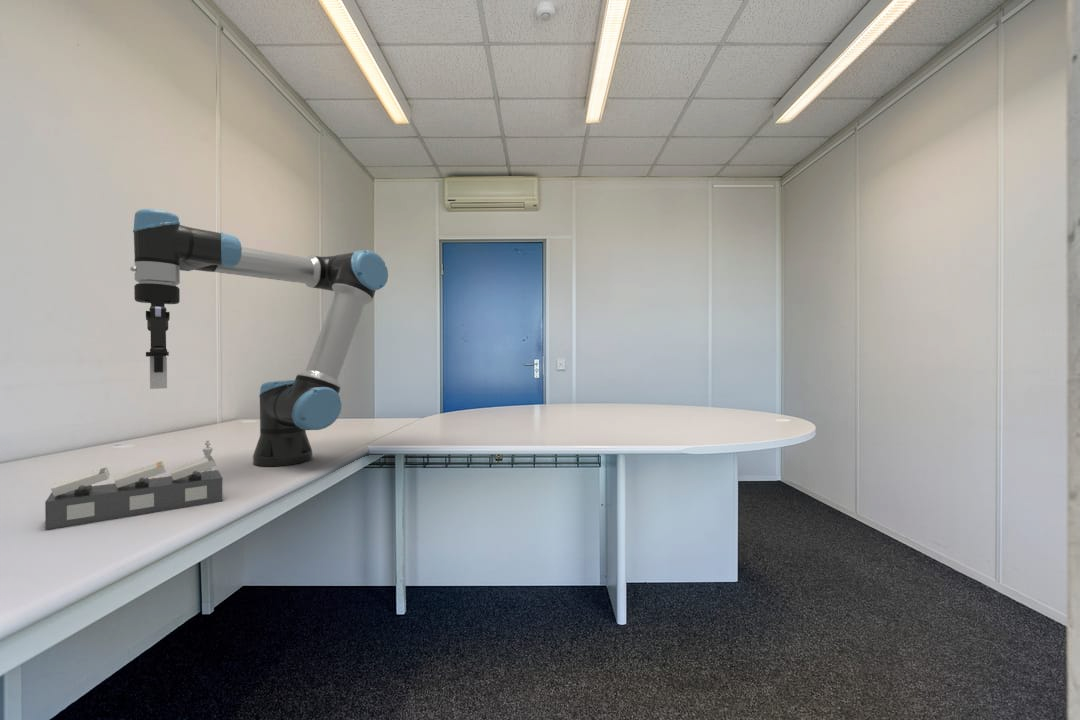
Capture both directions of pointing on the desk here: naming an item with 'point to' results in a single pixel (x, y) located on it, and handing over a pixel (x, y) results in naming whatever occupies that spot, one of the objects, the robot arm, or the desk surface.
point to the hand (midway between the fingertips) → (158, 386)
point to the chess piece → (207, 452)
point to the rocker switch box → (131, 499)
